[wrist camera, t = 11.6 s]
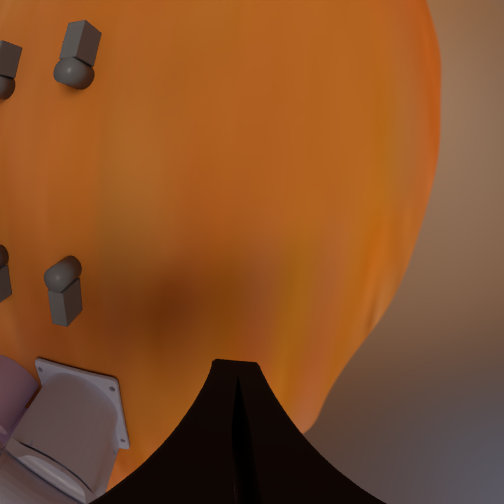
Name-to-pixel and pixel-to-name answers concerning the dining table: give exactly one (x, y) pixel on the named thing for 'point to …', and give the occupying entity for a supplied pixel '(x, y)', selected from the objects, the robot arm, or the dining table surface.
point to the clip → (13, 395)
